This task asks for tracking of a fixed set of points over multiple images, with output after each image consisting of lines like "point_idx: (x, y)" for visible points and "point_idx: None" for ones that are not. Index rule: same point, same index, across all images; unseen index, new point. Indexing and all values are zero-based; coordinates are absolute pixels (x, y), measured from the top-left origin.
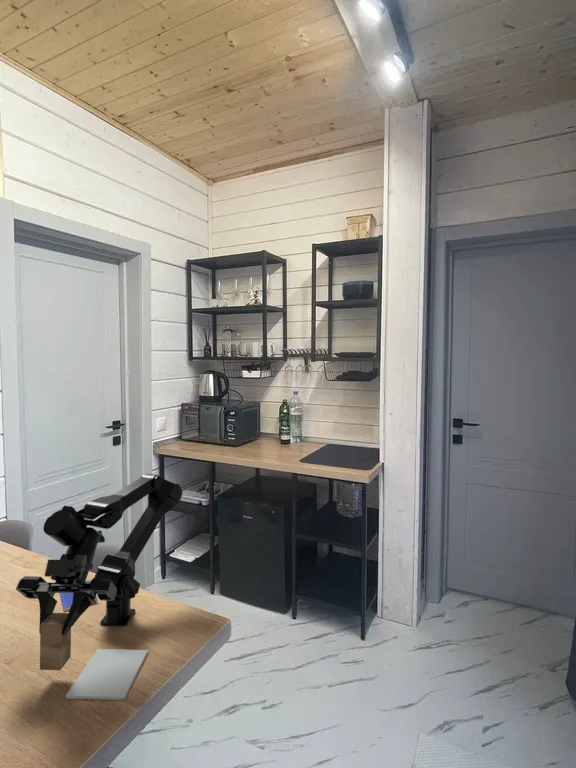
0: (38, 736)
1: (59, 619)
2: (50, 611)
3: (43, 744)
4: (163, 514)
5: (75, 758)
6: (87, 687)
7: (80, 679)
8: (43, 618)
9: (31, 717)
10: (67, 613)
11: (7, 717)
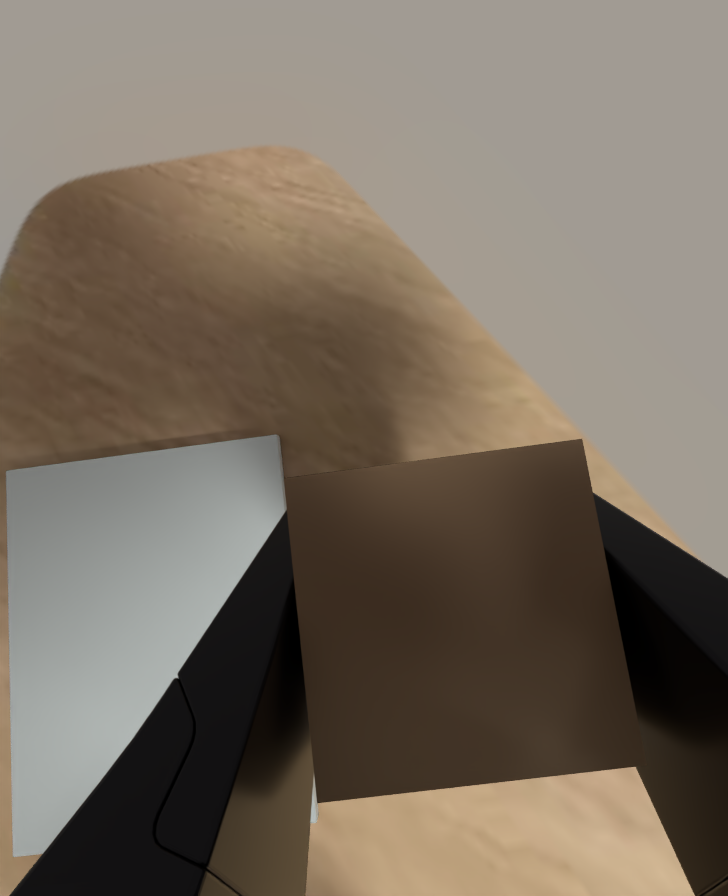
0: (264, 243)
1: (388, 597)
2: (688, 794)
3: (223, 216)
4: None
5: (77, 186)
6: (205, 503)
7: None
8: (641, 568)
9: (355, 318)
10: (373, 787)
11: (454, 301)
